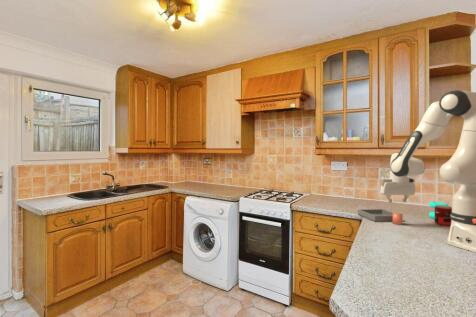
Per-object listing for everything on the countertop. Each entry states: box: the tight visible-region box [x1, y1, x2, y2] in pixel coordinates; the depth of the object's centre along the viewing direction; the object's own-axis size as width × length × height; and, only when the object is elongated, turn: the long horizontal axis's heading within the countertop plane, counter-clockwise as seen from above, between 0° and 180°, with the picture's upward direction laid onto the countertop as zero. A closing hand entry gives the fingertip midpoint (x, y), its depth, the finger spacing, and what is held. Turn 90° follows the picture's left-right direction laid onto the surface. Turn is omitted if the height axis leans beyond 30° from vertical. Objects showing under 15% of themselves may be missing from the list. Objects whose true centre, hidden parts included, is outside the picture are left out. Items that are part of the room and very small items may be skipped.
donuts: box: [428, 201, 449, 219], centre depth 166 cm, size 10×10×10 cm
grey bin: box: [357, 208, 394, 223], centre depth 165 cm, size 18×18×4 cm
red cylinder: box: [391, 212, 403, 226], centre depth 151 cm, size 5×5×6 cm
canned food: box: [433, 205, 452, 227], centre depth 151 cm, size 8×8×11 cm
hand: (397, 202), depth 151 cm, fingers open, 8 cm apart
